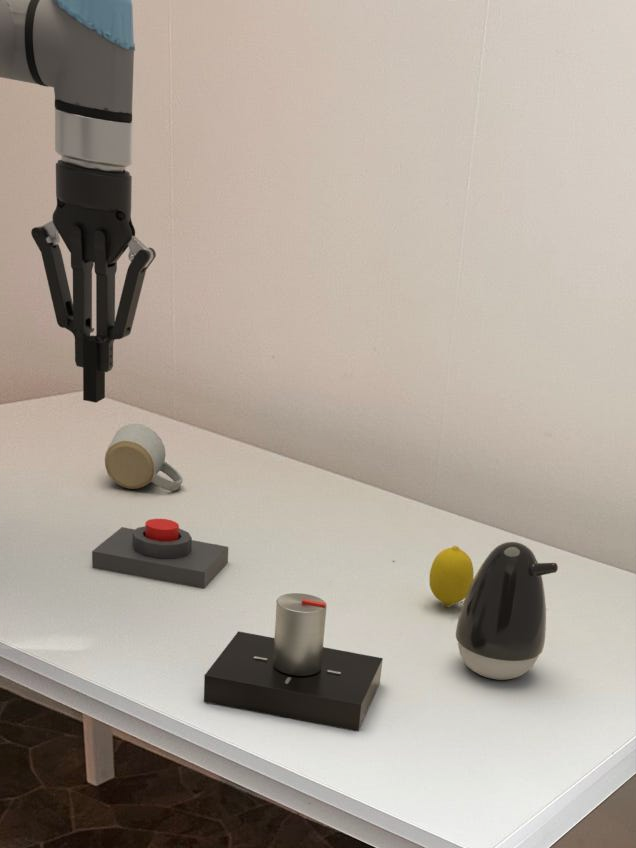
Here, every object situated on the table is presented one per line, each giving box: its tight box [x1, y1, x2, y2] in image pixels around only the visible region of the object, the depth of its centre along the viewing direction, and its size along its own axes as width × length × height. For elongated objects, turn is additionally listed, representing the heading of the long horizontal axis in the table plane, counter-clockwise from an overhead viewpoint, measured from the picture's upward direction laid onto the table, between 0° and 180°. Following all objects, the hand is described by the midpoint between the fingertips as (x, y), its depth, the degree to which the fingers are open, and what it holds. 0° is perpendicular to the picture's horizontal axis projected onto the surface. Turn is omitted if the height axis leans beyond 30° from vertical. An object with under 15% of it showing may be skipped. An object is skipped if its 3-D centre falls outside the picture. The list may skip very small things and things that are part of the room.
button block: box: [91, 525, 229, 589], centre depth 147 cm, size 14×10×4 cm
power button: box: [144, 518, 180, 541], centre depth 146 cm, size 4×4×2 cm
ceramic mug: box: [104, 423, 184, 492], centre depth 172 cm, size 11×8×8 cm
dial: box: [273, 592, 328, 676], centre depth 121 cm, size 5×5×7 cm
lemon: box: [429, 545, 475, 608], centre depth 149 cm, size 6×6×8 cm
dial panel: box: [203, 630, 384, 732], centre depth 124 cm, size 16×12×3 cm
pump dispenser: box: [455, 541, 559, 681], centre depth 133 cm, size 10×10×15 cm
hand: (94, 398), depth 135 cm, fingers closed
